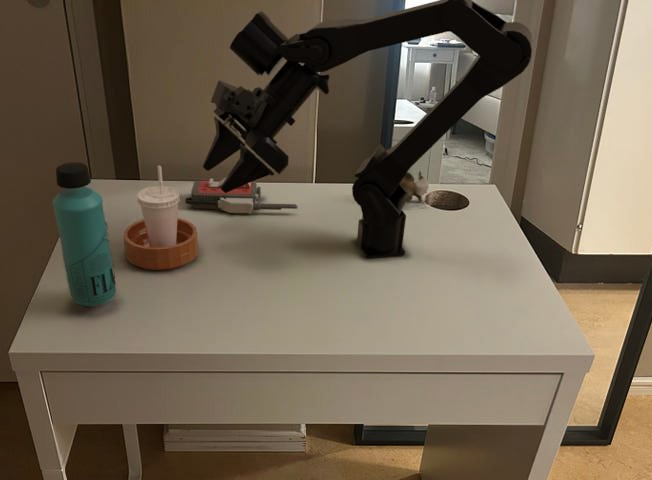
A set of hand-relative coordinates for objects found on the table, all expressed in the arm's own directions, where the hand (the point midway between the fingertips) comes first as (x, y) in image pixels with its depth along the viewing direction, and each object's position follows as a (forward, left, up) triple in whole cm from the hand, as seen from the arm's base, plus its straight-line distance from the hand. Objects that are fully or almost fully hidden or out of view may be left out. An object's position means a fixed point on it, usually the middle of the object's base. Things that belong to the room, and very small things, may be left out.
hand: (213, 179), depth 106 cm
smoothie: (+9, +2, -11) cm, 14 cm away
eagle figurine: (-35, -12, -12) cm, 39 cm away
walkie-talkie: (-6, -15, -12) cm, 20 cm away
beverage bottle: (+19, +15, -12) cm, 26 cm away
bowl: (+9, +2, -11) cm, 15 cm away
